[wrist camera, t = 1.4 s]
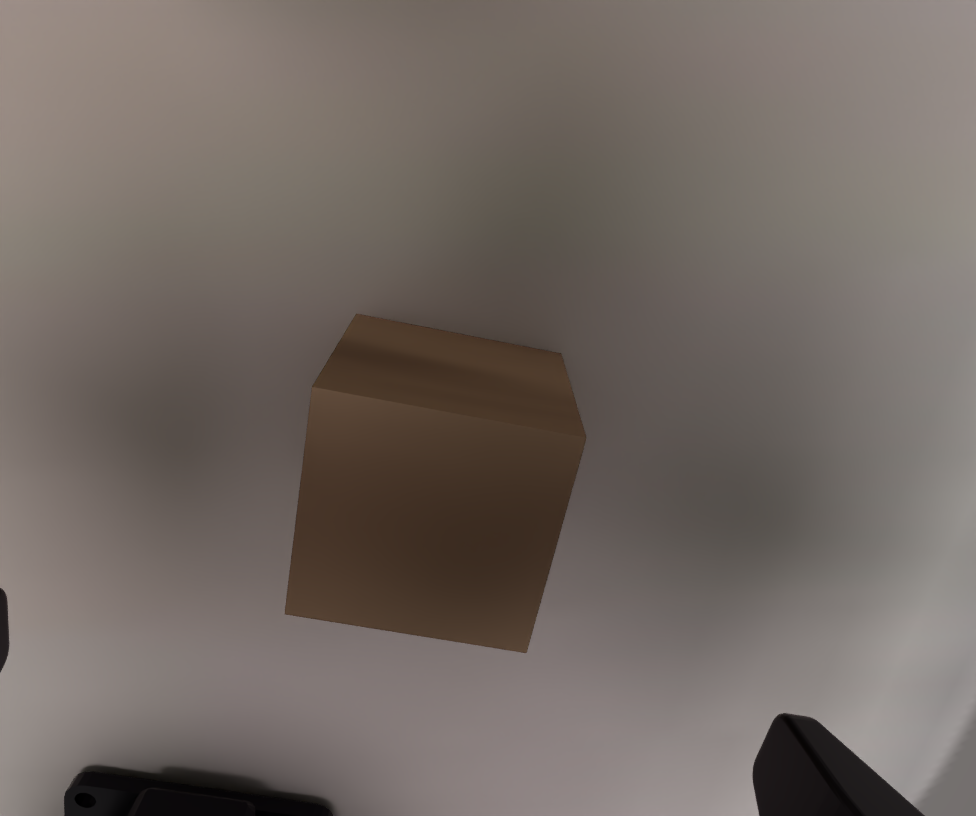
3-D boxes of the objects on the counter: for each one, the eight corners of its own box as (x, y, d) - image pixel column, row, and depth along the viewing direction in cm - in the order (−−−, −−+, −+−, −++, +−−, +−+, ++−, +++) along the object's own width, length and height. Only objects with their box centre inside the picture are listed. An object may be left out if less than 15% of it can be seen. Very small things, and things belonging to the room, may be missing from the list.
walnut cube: (516, 525, 16) (526, 653, 12) (331, 493, 16) (284, 613, 12) (560, 352, 15) (586, 437, 11) (357, 312, 14) (311, 386, 10)
